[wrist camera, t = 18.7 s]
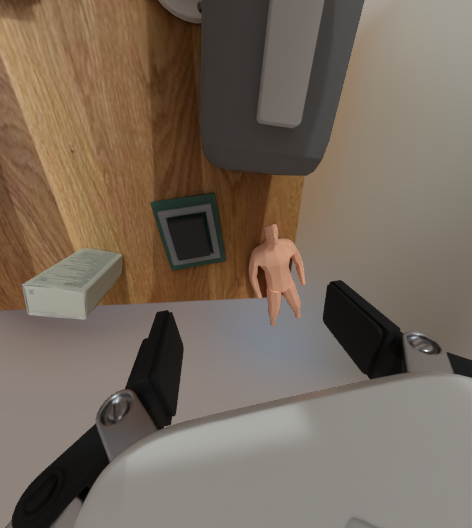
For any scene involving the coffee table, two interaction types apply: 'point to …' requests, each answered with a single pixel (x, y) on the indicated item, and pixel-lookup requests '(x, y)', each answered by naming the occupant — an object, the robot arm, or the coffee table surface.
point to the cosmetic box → (73, 284)
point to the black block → (190, 237)
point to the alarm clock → (272, 81)
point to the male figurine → (277, 272)
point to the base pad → (185, 208)
